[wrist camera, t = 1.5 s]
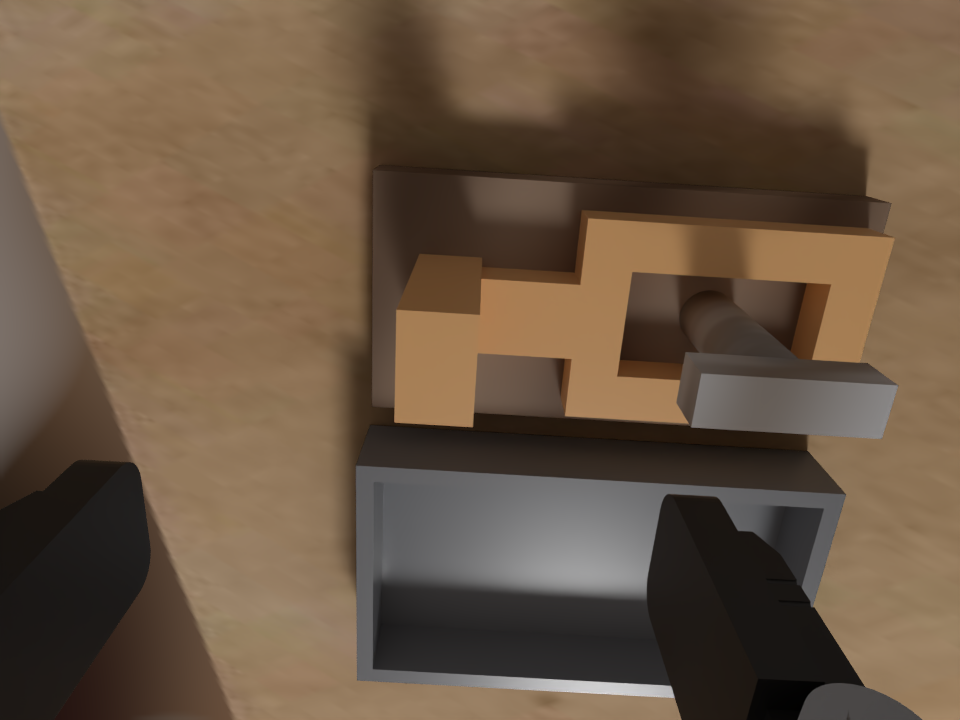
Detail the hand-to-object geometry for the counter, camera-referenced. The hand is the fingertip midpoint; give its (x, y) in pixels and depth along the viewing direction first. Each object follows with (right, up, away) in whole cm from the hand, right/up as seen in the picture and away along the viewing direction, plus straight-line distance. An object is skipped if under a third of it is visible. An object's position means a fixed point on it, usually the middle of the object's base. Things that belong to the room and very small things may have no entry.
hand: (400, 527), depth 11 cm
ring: (+6, +4, +12) cm, 14 cm away
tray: (+5, -5, +17) cm, 19 cm away
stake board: (+6, +5, +13) cm, 15 cm away
